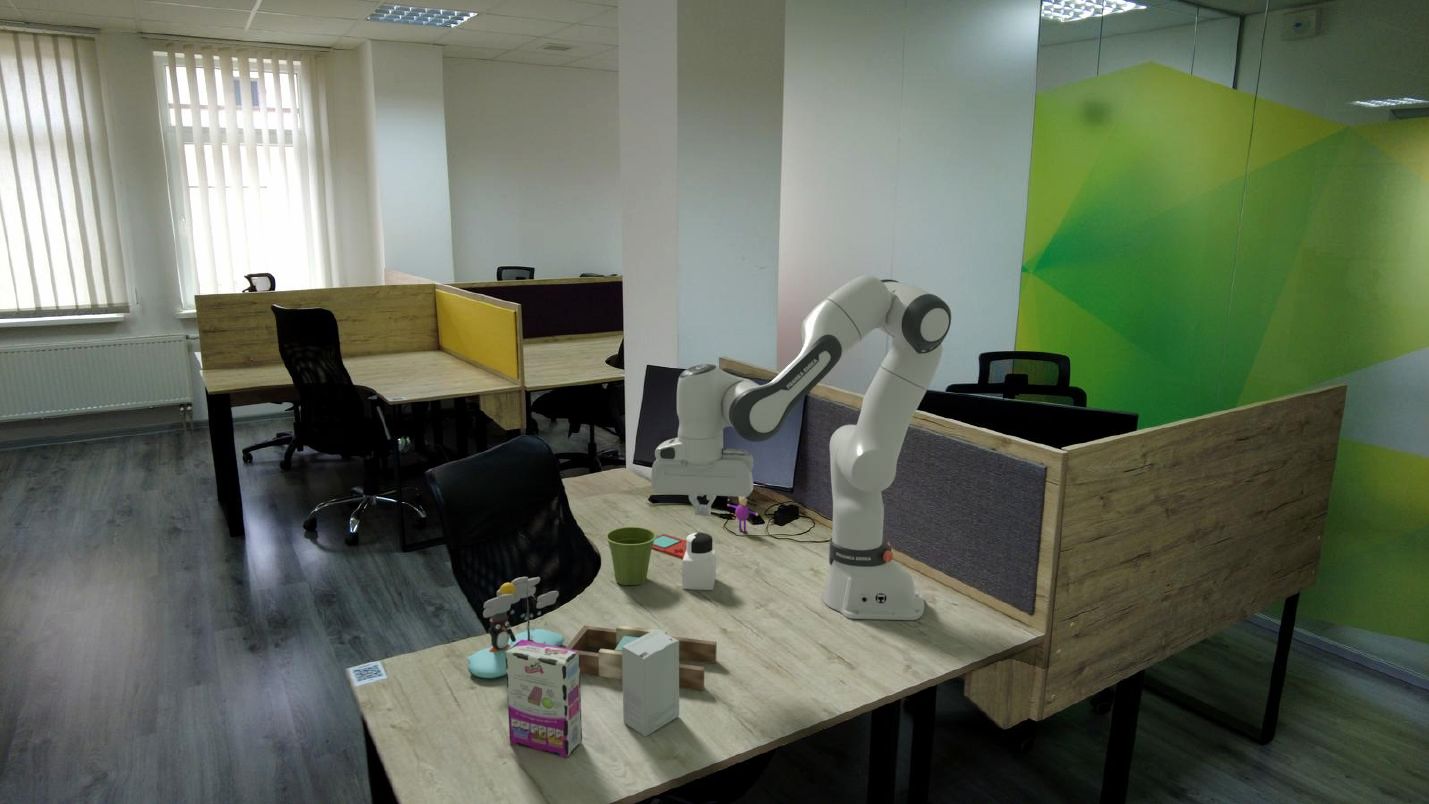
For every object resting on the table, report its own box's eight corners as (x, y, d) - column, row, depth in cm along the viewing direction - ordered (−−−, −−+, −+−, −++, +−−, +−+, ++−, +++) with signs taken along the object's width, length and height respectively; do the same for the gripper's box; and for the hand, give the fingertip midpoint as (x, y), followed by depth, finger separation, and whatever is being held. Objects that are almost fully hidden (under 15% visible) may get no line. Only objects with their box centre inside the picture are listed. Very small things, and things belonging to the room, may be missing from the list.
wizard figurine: (760, 536, 229) (761, 493, 227) (752, 539, 227) (753, 496, 224) (730, 525, 237) (731, 484, 234) (722, 528, 235) (723, 487, 232)
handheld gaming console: (683, 557, 213) (640, 542, 222) (683, 561, 213) (640, 546, 222) (707, 546, 220) (664, 532, 229) (707, 550, 220) (664, 536, 229)
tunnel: (716, 660, 165) (716, 637, 164) (702, 690, 154) (702, 665, 153) (584, 643, 171) (584, 620, 170) (563, 671, 160) (562, 647, 159)
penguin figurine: (484, 688, 155) (480, 611, 151) (455, 666, 162) (450, 592, 159) (574, 650, 168) (572, 579, 165) (544, 631, 176) (541, 563, 173)
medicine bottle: (715, 578, 202) (716, 530, 200) (712, 591, 195) (713, 541, 193) (686, 576, 203) (686, 529, 201) (682, 589, 196) (682, 540, 194)
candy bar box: (583, 741, 139) (581, 649, 136) (568, 759, 134) (565, 664, 131) (525, 726, 143) (521, 637, 139) (508, 743, 138) (503, 651, 135)
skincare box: (657, 704, 150) (656, 626, 147) (681, 718, 146) (681, 638, 143) (621, 724, 144) (619, 644, 141) (645, 739, 140) (644, 656, 137)
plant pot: (644, 593, 194) (644, 547, 191) (597, 586, 197) (596, 540, 195) (664, 573, 205) (664, 529, 202) (619, 567, 208) (618, 523, 206)
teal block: (651, 660, 165) (651, 639, 164) (643, 674, 160) (642, 653, 159) (624, 657, 166) (623, 635, 165) (615, 671, 161) (614, 649, 160)
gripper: (755, 445, 167) (757, 511, 170) (656, 442, 171) (658, 506, 174) (750, 454, 161) (751, 523, 164) (646, 450, 165) (650, 517, 168)
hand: (703, 514), depth 169 cm, fingers closed
